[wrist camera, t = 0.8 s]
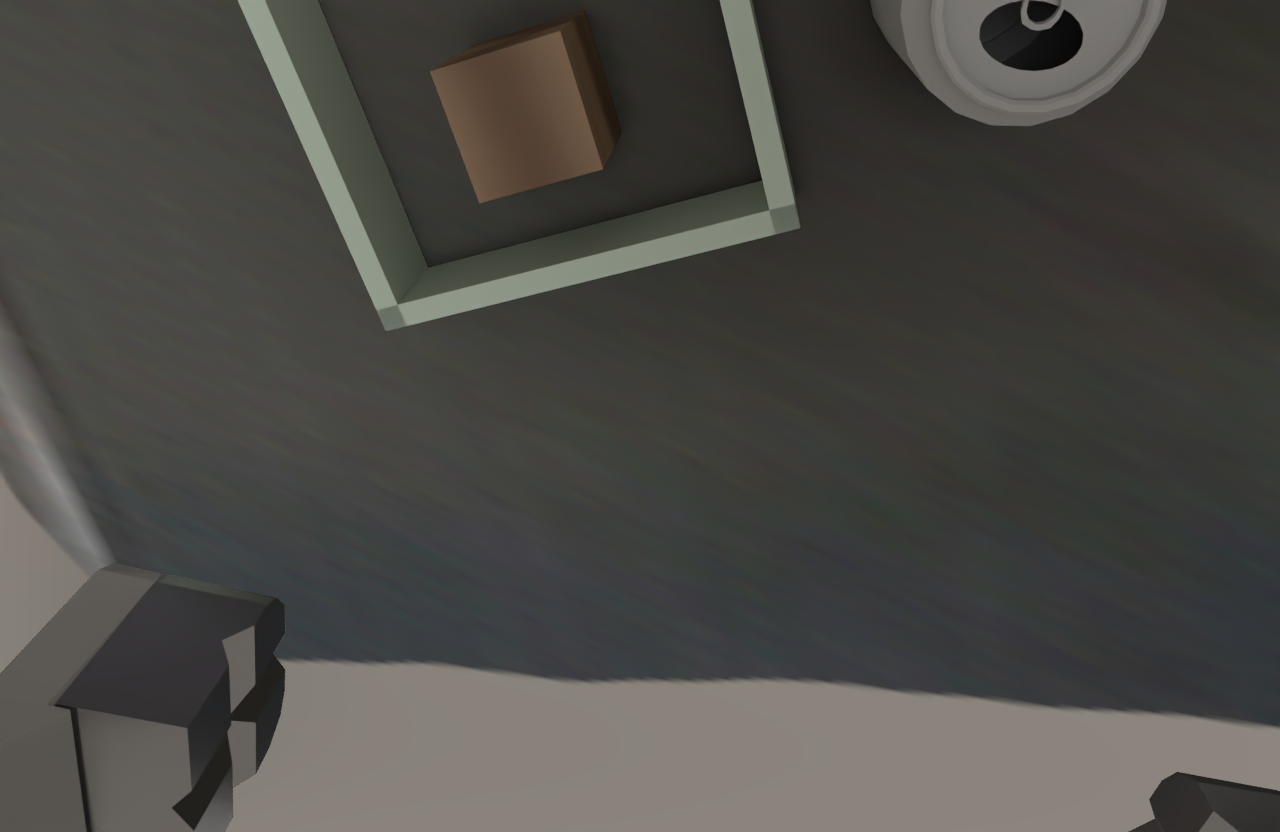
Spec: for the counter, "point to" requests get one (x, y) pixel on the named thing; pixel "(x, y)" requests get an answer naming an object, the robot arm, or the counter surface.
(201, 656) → the robot arm
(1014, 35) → the can
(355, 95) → the pale green frame
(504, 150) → the block
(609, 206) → the counter surface
